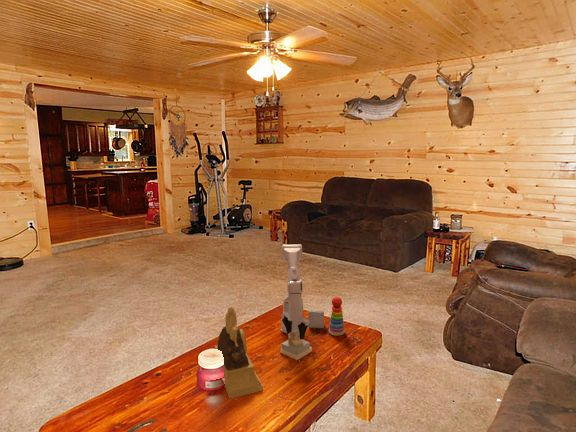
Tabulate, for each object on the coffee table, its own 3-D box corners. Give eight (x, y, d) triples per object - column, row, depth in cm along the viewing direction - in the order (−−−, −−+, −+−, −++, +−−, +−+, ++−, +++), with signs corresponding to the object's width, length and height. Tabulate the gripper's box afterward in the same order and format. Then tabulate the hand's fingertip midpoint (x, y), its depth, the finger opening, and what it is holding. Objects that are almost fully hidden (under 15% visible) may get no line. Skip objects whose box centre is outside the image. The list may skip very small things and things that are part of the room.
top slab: (281, 348, 175) (281, 343, 175) (294, 341, 182) (294, 336, 181) (296, 355, 169) (296, 350, 169) (309, 347, 176) (309, 342, 175)
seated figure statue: (263, 390, 148) (260, 315, 143) (229, 399, 143) (226, 322, 138) (243, 355, 174) (240, 291, 169) (214, 361, 169) (210, 295, 164)
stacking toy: (325, 332, 194) (325, 296, 191) (336, 327, 199) (337, 292, 196) (336, 338, 188) (336, 301, 185) (348, 333, 192) (348, 297, 189)
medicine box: (324, 324, 202) (324, 308, 201) (324, 328, 198) (324, 312, 197) (308, 324, 203) (308, 308, 202) (308, 328, 199) (308, 312, 197)
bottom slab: (280, 353, 176) (280, 348, 175) (295, 345, 183) (295, 340, 182) (297, 361, 169) (297, 356, 168) (311, 352, 176) (311, 347, 176)
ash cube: (288, 343, 175) (288, 333, 174) (295, 339, 178) (295, 330, 177) (295, 346, 172) (295, 336, 171) (302, 342, 175) (302, 333, 174)
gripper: (277, 305, 174) (277, 334, 176) (301, 314, 164) (302, 344, 167) (287, 300, 179) (288, 328, 182) (312, 309, 170) (312, 338, 172)
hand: (295, 335), depth 174 cm, fingers open, 7 cm apart
